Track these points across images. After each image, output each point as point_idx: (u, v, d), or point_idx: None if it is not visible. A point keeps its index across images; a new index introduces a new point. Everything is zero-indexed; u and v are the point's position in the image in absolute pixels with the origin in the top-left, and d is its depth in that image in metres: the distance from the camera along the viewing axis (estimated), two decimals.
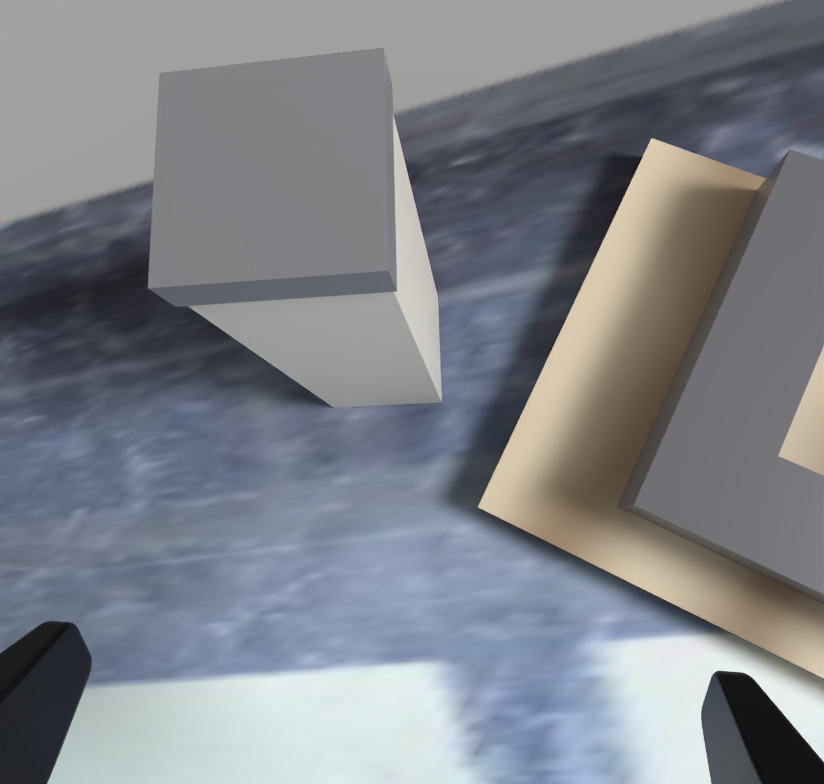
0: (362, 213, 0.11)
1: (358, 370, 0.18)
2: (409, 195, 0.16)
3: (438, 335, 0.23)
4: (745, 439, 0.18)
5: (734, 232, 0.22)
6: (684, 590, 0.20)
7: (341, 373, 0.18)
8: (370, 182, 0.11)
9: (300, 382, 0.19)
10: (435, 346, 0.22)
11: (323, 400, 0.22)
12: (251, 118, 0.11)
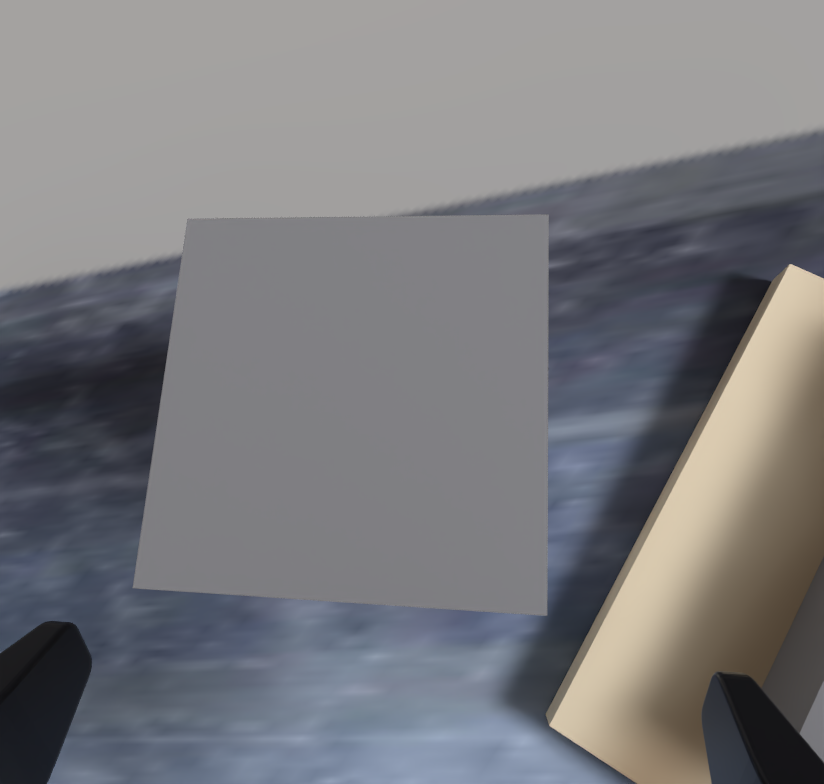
0: (504, 500, 0.06)
1: None
2: None
3: None
4: None
5: None
6: None
7: None
8: (520, 446, 0.06)
9: None
10: None
11: None
12: (326, 309, 0.07)
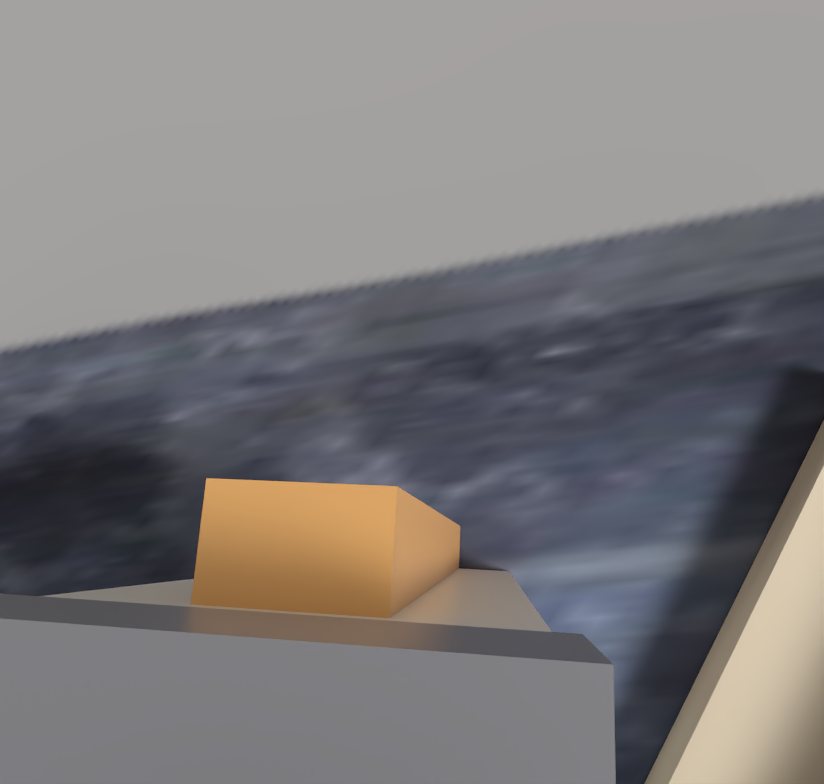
0: None
1: None
2: None
3: None
4: None
5: None
6: None
7: None
8: None
9: None
10: None
11: None
12: None
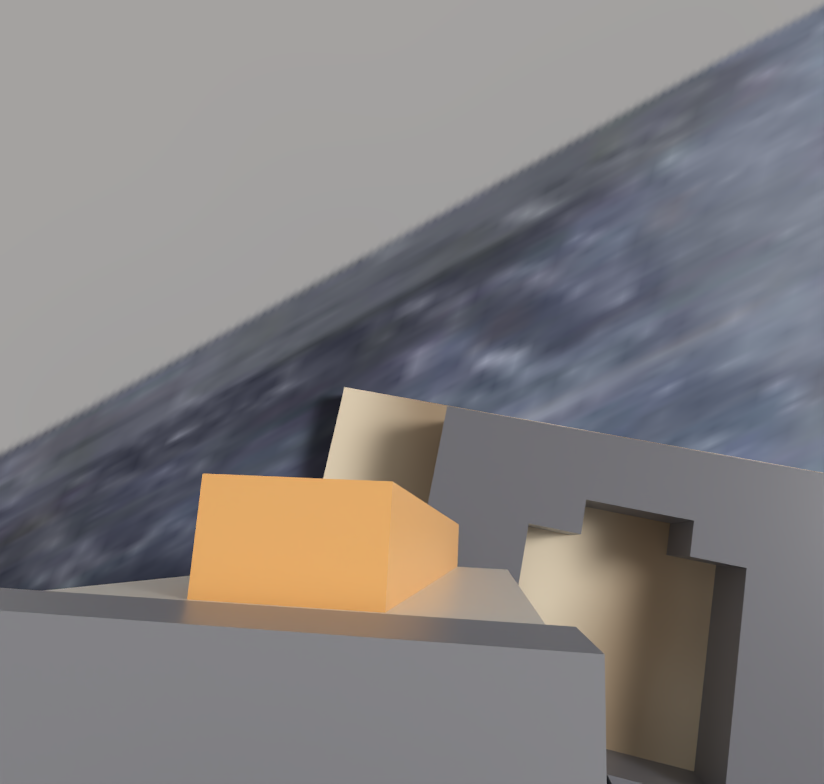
0: None
1: None
2: None
3: None
4: None
5: None
6: None
7: None
8: None
9: None
10: None
11: None
12: None
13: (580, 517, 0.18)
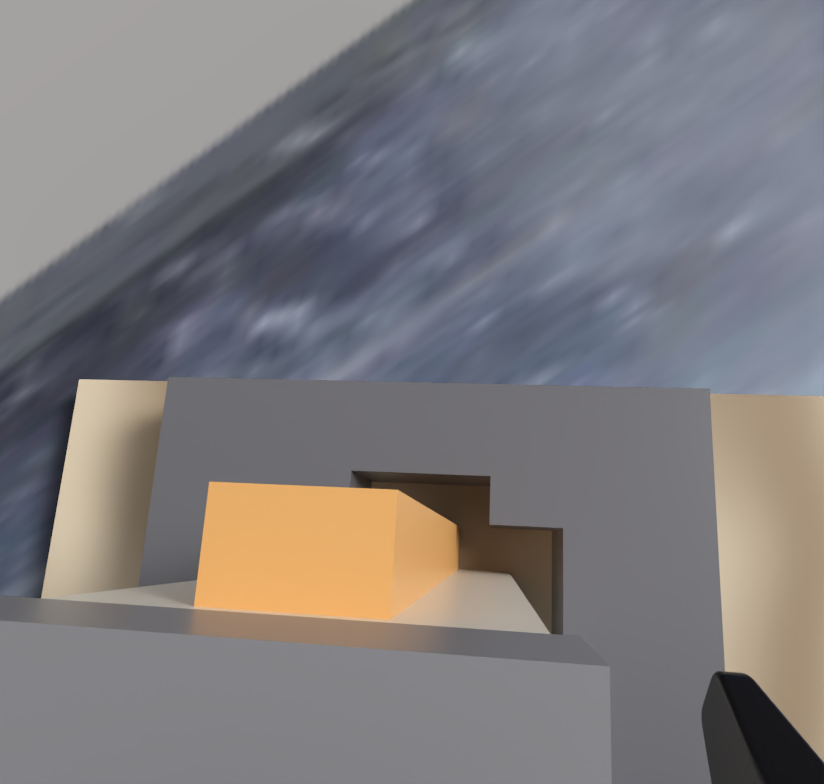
0: None
1: None
2: None
3: None
4: None
5: None
6: None
7: None
8: None
9: None
10: None
11: None
12: None
13: None
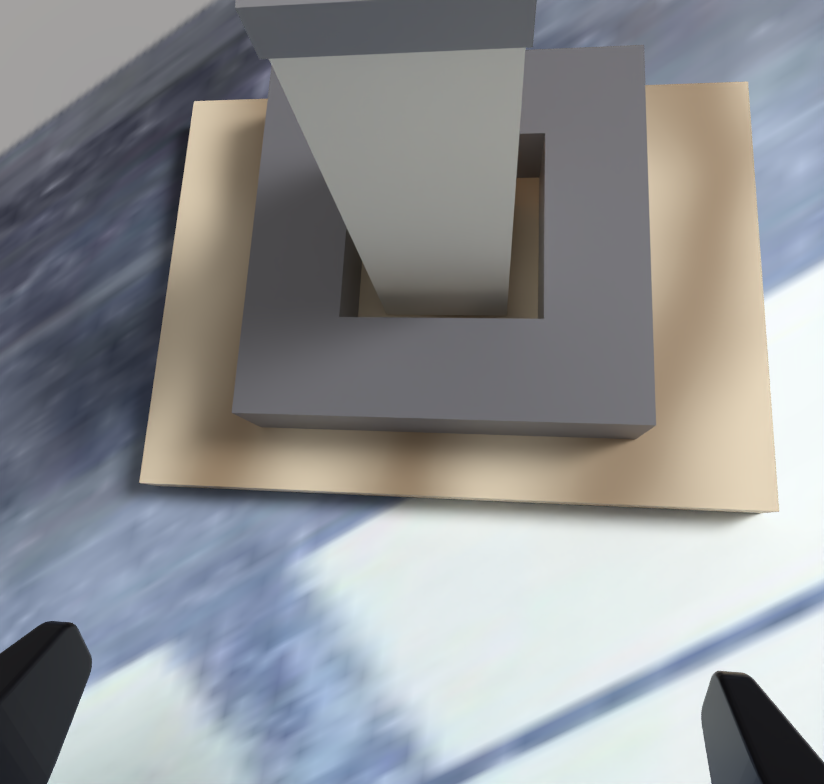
0: None
1: (434, 237, 0.16)
2: None
3: None
4: (308, 314, 0.19)
5: None
6: (341, 475, 0.21)
7: (413, 242, 0.16)
8: None
9: (363, 257, 0.17)
10: None
11: (379, 298, 0.20)
12: None
13: None
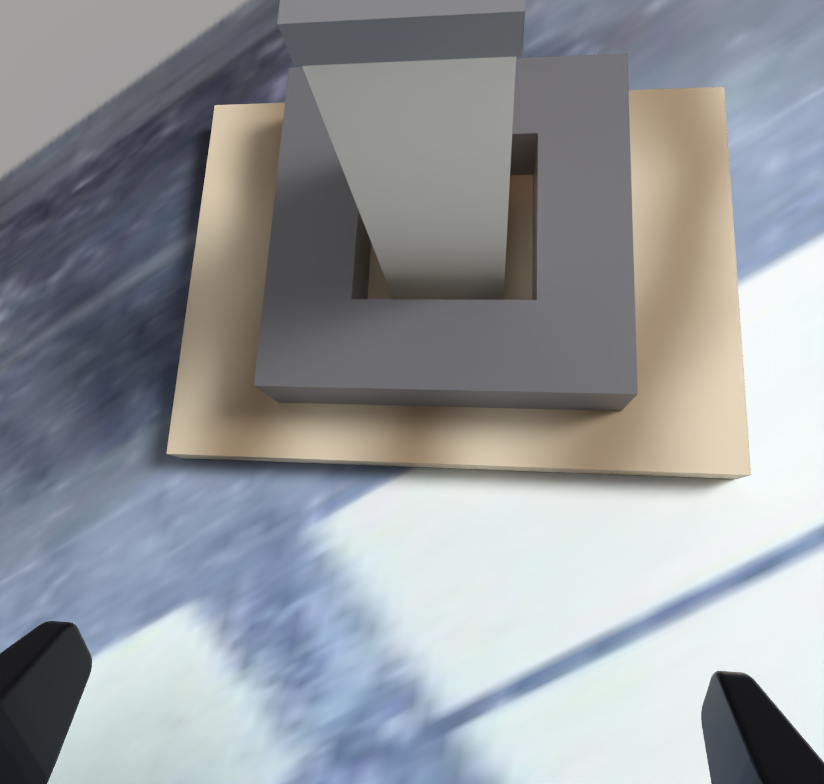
0: None
1: (438, 224, 0.18)
2: None
3: None
4: (323, 297, 0.21)
5: None
6: (352, 445, 0.23)
7: (420, 228, 0.18)
8: None
9: (374, 243, 0.19)
10: None
11: (387, 283, 0.22)
12: None
13: None
